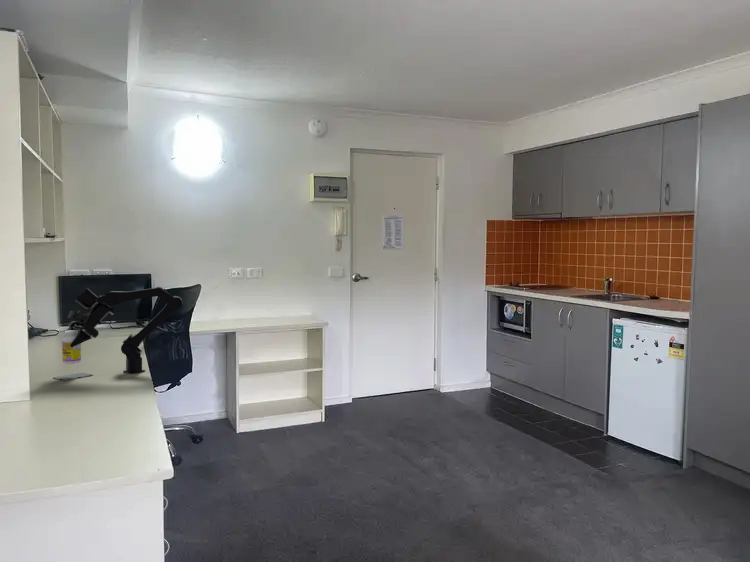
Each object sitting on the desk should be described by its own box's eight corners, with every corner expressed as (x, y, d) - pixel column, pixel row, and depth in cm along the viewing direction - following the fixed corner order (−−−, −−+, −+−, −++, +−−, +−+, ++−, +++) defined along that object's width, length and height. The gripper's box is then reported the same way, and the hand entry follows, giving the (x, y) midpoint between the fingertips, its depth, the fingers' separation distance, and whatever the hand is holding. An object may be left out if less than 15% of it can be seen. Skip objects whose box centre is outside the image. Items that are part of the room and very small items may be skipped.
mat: (93, 375, 230) (93, 374, 230) (64, 380, 219) (64, 379, 219) (81, 373, 234) (81, 372, 234) (53, 378, 223) (53, 377, 223)
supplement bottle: (59, 363, 224) (58, 331, 224) (74, 360, 230) (73, 329, 229) (69, 364, 221) (68, 332, 221) (85, 361, 227) (84, 330, 226)
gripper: (72, 302, 234) (44, 330, 226) (89, 304, 221) (59, 335, 213) (92, 319, 240) (65, 347, 232) (110, 322, 227) (82, 352, 220)
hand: (67, 345), depth 224 cm, fingers closed on supplement bottle, 7 cm apart
